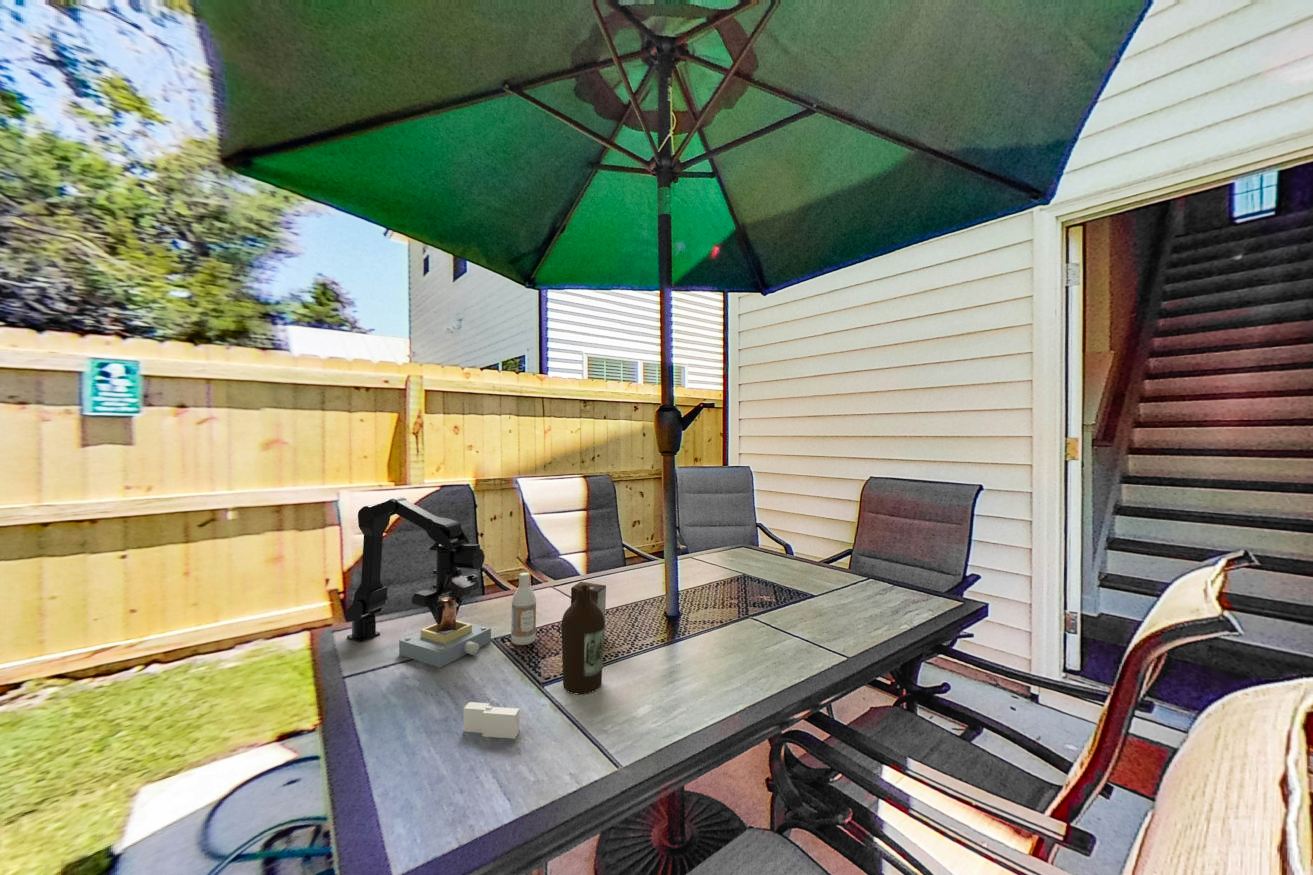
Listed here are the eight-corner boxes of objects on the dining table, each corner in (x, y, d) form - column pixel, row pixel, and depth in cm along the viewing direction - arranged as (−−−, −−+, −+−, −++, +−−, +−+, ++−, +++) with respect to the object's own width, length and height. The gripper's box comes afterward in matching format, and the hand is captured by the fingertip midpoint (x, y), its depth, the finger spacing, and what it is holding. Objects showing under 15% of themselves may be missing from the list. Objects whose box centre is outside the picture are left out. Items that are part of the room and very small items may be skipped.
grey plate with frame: (399, 654, 137) (399, 632, 137) (452, 631, 153) (452, 611, 153) (448, 670, 129) (448, 647, 129) (498, 643, 145) (498, 623, 145)
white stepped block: (534, 735, 103) (534, 708, 103) (482, 761, 94) (482, 732, 94) (497, 707, 113) (497, 682, 113) (448, 728, 105) (448, 701, 105)
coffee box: (568, 640, 148) (569, 587, 147) (579, 632, 154) (579, 581, 153) (596, 645, 145) (597, 590, 144) (606, 637, 151) (606, 584, 150)
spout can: (433, 629, 140) (433, 600, 140) (447, 623, 145) (447, 595, 145) (450, 633, 137) (450, 605, 137) (464, 627, 142) (464, 599, 142)
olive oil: (551, 686, 121) (552, 585, 121) (581, 670, 130) (583, 575, 129) (583, 701, 115) (584, 593, 115) (612, 682, 124) (614, 582, 123)
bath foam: (515, 647, 142) (516, 578, 142) (508, 639, 148) (509, 572, 148) (538, 642, 146) (539, 574, 146) (530, 634, 152) (531, 569, 152)
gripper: (439, 578, 129) (439, 638, 130) (492, 562, 146) (491, 614, 146) (410, 572, 134) (410, 630, 135) (465, 557, 151) (464, 608, 151)
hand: (446, 620), depth 142 cm, fingers closed on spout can, 5 cm apart
